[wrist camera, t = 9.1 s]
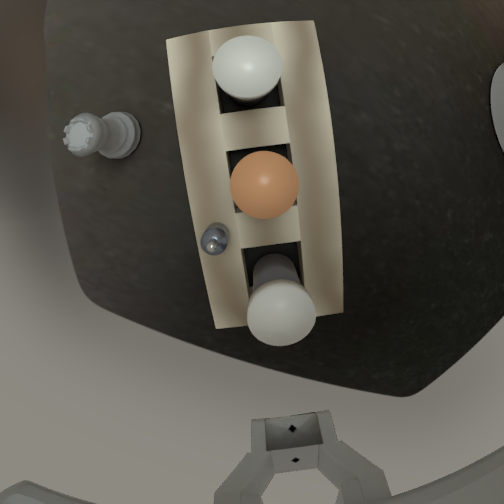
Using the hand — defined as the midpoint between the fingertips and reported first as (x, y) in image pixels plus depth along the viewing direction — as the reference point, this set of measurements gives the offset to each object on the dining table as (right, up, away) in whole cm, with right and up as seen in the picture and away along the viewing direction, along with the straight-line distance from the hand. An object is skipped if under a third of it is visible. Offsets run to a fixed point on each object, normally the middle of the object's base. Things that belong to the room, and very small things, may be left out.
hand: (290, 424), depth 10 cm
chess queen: (-14, +18, +15) cm, 27 cm away
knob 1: (-2, +21, +13) cm, 24 cm away
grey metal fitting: (-4, +8, +15) cm, 17 cm away
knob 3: (0, +5, +16) cm, 16 cm away
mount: (-1, +13, +16) cm, 21 cm away
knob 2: (-1, +13, +16) cm, 20 cm away
